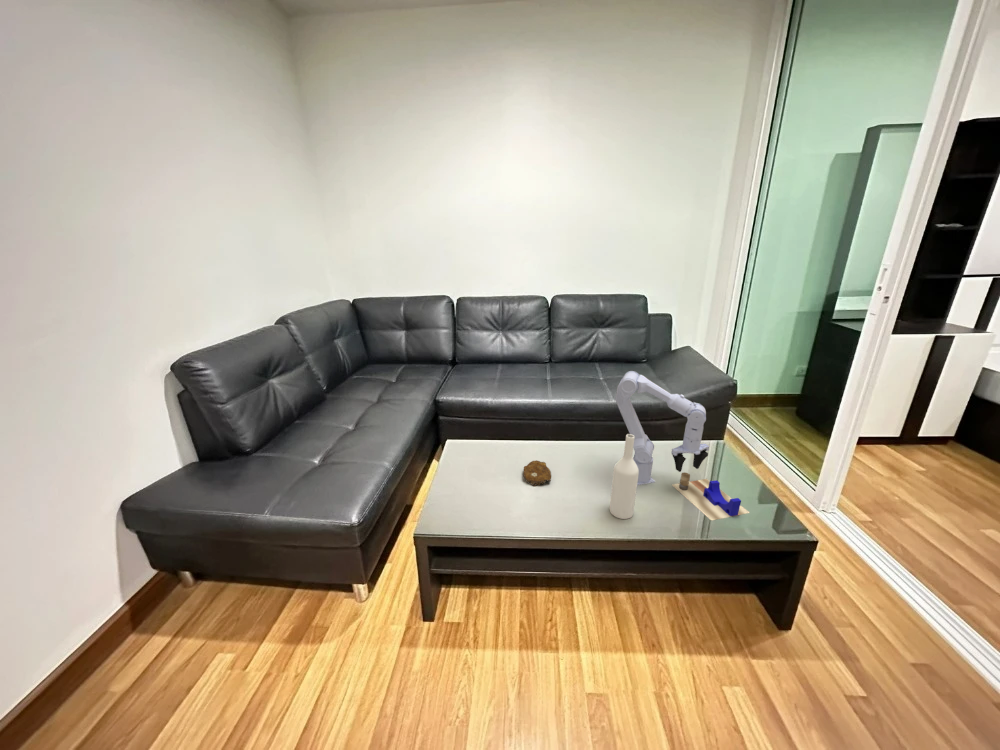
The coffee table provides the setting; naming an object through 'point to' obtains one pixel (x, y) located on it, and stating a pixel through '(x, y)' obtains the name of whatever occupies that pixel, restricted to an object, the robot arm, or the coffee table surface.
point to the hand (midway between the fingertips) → (686, 468)
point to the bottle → (624, 483)
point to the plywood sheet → (706, 500)
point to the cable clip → (721, 499)
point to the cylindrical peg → (684, 481)
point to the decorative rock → (537, 473)
